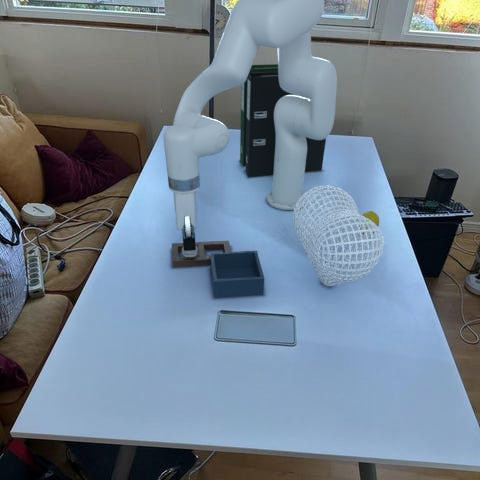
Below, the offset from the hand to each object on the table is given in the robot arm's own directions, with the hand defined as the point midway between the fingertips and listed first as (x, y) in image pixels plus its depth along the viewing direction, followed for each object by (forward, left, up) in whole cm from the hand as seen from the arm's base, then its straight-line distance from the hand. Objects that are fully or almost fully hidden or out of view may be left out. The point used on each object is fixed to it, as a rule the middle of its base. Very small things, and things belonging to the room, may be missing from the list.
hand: (189, 244), depth 124 cm
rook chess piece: (0, 0, -3) cm, 3 cm away
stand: (0, +3, -4) cm, 5 cm away
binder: (-55, +35, -4) cm, 65 cm away
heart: (+15, +34, -4) cm, 37 cm away
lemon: (-6, +51, -4) cm, 52 cm away
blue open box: (+12, +11, -4) cm, 17 cm away
